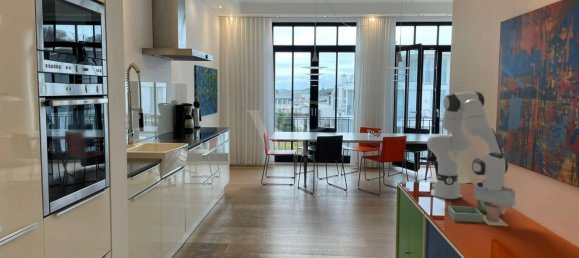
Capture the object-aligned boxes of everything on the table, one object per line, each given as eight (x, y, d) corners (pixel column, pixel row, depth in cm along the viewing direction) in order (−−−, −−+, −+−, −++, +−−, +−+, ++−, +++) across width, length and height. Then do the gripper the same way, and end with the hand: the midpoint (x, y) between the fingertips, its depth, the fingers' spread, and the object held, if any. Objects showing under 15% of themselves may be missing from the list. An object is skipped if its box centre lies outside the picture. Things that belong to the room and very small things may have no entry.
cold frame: (447, 212, 228) (448, 205, 227) (474, 214, 226) (475, 206, 225) (453, 220, 214) (454, 213, 214) (482, 222, 212) (483, 214, 212)
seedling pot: (484, 217, 218) (485, 203, 218) (496, 218, 217) (497, 204, 217) (488, 221, 212) (489, 207, 212) (500, 222, 212) (501, 207, 211)
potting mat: (479, 215, 223) (479, 215, 223) (496, 216, 222) (496, 215, 222) (488, 224, 208) (488, 224, 208) (507, 225, 206) (507, 225, 206)
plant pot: (495, 213, 227) (496, 197, 226) (477, 212, 229) (477, 196, 228) (491, 208, 236) (491, 193, 235) (473, 207, 238) (473, 192, 237)
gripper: (518, 188, 207) (517, 215, 208) (479, 180, 223) (477, 206, 224) (512, 190, 203) (510, 217, 204) (472, 182, 219) (471, 208, 221)
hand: (493, 211), depth 215 cm, fingers open, 8 cm apart
